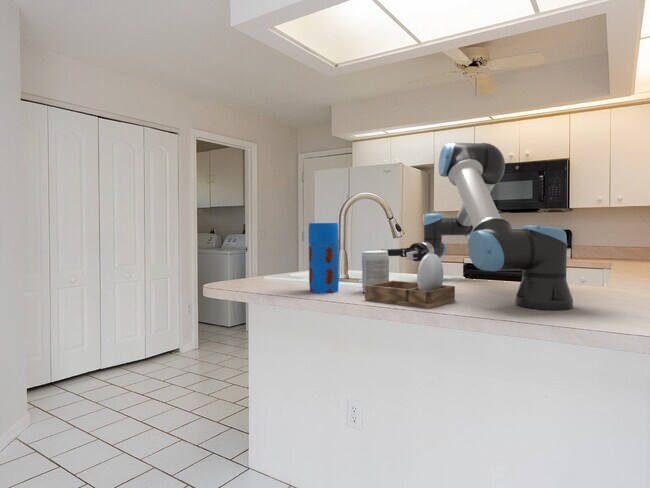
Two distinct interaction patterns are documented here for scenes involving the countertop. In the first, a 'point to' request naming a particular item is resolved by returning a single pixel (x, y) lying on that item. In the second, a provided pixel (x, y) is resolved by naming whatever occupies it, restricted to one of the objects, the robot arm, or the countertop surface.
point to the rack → (409, 294)
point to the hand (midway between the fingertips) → (391, 255)
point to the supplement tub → (374, 267)
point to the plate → (430, 273)
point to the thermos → (323, 257)
